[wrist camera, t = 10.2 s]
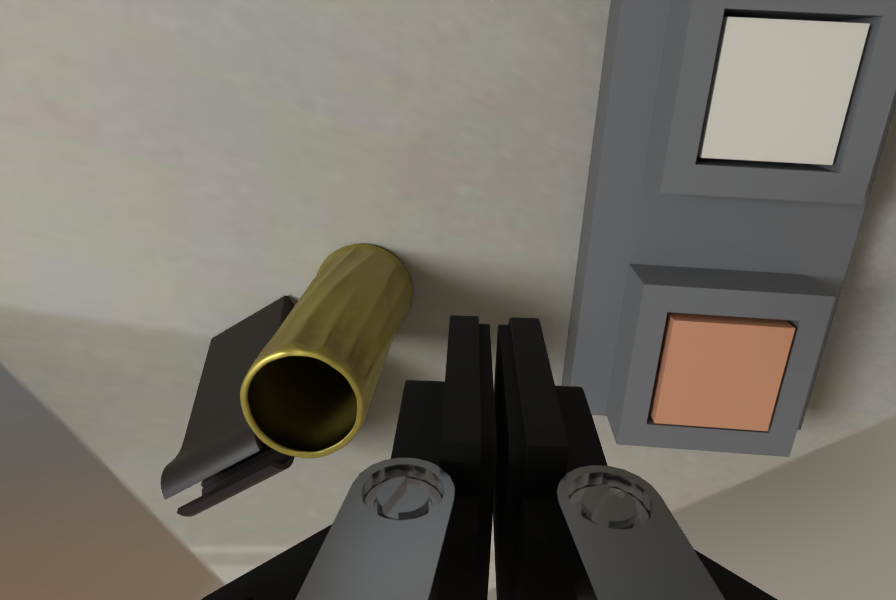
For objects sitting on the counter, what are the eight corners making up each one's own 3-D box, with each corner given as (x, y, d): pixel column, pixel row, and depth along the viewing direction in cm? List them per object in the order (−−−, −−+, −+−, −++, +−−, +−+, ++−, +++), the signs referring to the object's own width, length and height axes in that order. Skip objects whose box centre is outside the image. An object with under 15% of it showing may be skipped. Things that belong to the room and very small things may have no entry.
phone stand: (364, 402, 42) (319, 525, 31) (292, 438, 43) (225, 569, 32) (286, 293, 39) (207, 384, 28) (214, 335, 41) (110, 437, 29)
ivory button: (705, 21, 30) (727, 16, 27) (833, 27, 29) (870, 23, 27) (682, 149, 32) (701, 157, 29) (801, 156, 31) (832, 165, 29)
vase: (432, 283, 38) (403, 398, 25) (375, 352, 40) (320, 492, 27) (352, 223, 37) (278, 309, 24) (298, 296, 39) (201, 414, 26)
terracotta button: (658, 299, 34) (674, 320, 31) (769, 306, 34) (795, 328, 31) (641, 395, 36) (654, 423, 33) (745, 402, 36) (767, 431, 33)
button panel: (613, -21, 32) (643, -41, 26) (890, -8, 31) (987, -26, 25) (561, 388, 41) (574, 445, 34) (778, 404, 40) (830, 464, 34)
